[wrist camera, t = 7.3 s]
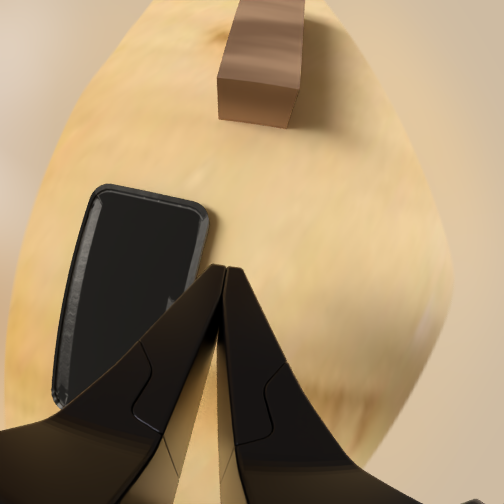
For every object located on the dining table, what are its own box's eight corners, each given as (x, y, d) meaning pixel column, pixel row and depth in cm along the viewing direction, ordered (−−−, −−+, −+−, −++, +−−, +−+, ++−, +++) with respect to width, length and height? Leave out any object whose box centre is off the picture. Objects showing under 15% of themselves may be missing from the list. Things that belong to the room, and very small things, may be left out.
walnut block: (299, 89, 15) (305, -19, 17) (216, 77, 15) (249, -28, 17) (285, 129, 19) (296, 17, 21) (218, 119, 19) (246, 9, 21)
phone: (50, 405, 15) (95, 180, 17) (58, 400, 16) (102, 186, 18) (161, 448, 15) (215, 206, 17) (164, 440, 16) (215, 211, 19)
